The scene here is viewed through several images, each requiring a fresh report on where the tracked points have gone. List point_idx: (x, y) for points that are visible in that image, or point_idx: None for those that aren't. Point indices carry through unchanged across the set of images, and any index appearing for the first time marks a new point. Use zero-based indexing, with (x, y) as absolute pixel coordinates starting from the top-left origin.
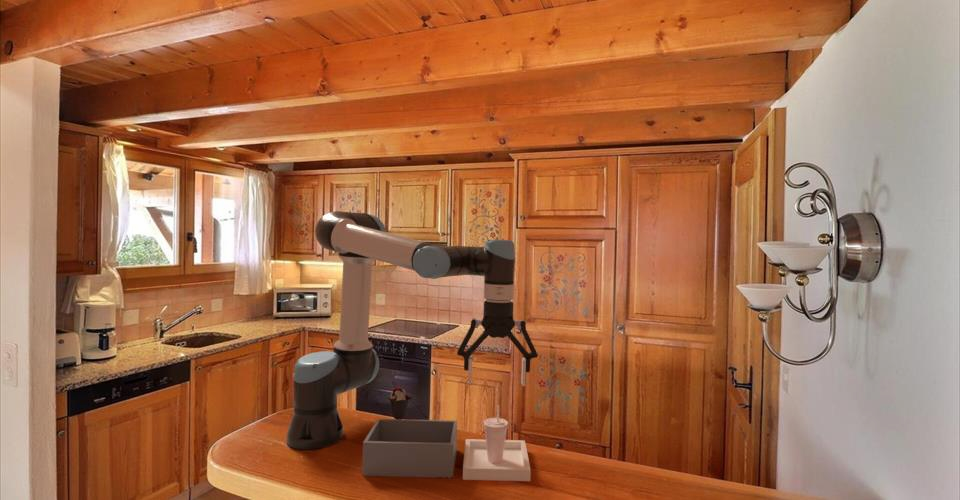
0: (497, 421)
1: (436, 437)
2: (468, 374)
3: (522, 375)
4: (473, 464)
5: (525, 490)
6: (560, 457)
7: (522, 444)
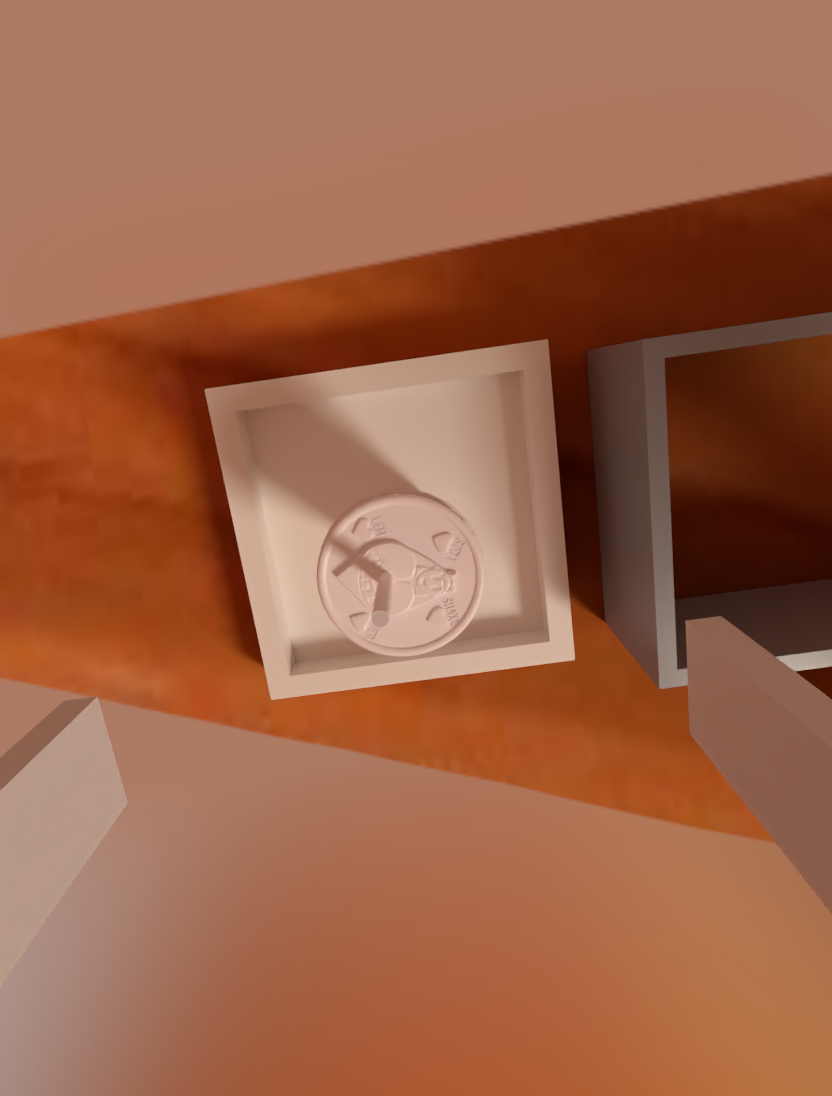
0: (388, 574)
1: (735, 619)
2: (787, 667)
3: (24, 769)
4: (503, 459)
5: (234, 301)
6: (107, 639)
7: (277, 654)
